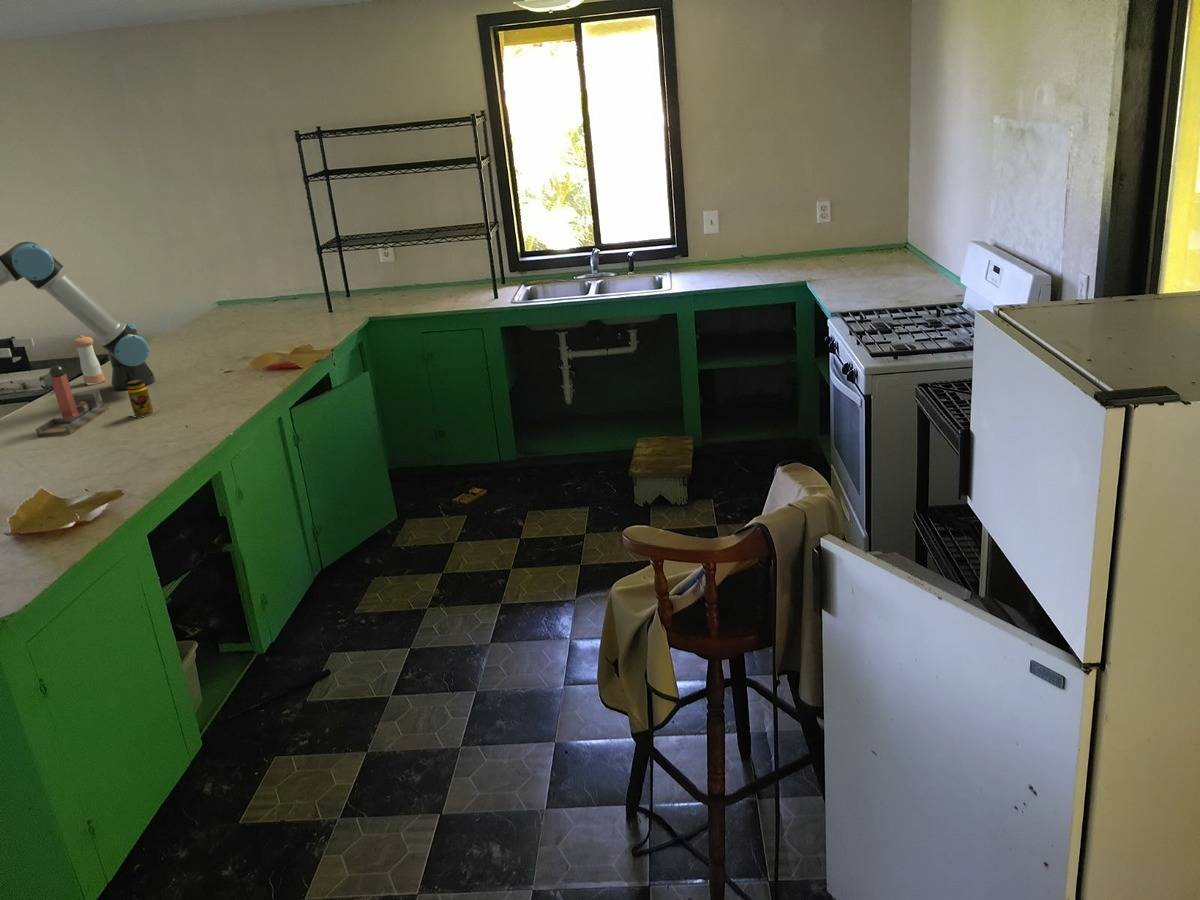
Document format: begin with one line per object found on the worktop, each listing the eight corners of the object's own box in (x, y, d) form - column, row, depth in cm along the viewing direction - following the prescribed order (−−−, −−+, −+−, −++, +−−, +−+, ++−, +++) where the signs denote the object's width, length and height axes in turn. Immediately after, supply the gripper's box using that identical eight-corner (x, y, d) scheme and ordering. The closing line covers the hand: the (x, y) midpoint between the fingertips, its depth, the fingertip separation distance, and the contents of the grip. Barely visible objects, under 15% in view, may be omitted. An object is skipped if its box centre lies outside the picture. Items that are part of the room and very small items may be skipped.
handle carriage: (70, 414, 325) (53, 361, 318) (91, 412, 325) (75, 359, 318) (56, 423, 316) (38, 369, 310) (78, 421, 316) (61, 367, 309)
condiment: (141, 418, 318) (132, 385, 313) (126, 416, 322) (116, 383, 318) (160, 411, 324) (151, 378, 319) (144, 409, 328) (135, 376, 323)
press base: (78, 411, 333) (72, 392, 330) (108, 409, 333) (103, 389, 330) (37, 437, 309) (31, 416, 306) (70, 434, 308) (64, 413, 306)
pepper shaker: (99, 384, 367) (85, 337, 360) (81, 386, 367) (67, 338, 361) (108, 379, 374) (95, 332, 367) (91, 380, 374) (77, 333, 367)
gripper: (-17, 351, 324) (44, 348, 324) (-63, 372, 301) (3, 368, 301) (-24, 330, 321) (38, 326, 321) (-70, 350, 298) (-4, 346, 298)
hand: (21, 347), depth 311 cm, fingers open, 13 cm apart
